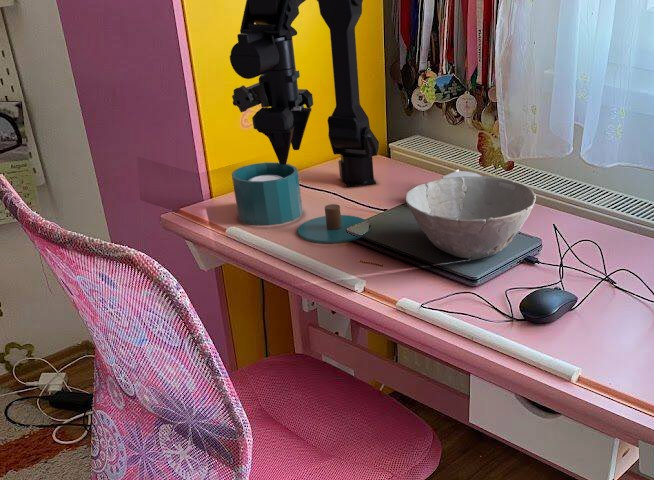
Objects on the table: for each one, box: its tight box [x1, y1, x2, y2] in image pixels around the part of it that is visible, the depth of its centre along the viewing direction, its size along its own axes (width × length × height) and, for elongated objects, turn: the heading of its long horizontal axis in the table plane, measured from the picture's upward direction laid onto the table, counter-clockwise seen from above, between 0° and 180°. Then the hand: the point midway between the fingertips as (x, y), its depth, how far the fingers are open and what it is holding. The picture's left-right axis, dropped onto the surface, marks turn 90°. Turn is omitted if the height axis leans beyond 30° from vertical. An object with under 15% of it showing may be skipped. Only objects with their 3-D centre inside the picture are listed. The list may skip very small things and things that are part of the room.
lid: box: [297, 203, 371, 244], centre depth 159 cm, size 13×13×5 cm
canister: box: [231, 162, 304, 227], centre depth 166 cm, size 12×12×9 cm
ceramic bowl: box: [405, 175, 537, 260], centre depth 150 cm, size 22×23×10 cm
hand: (289, 157), depth 158 cm, fingers open, 9 cm apart
